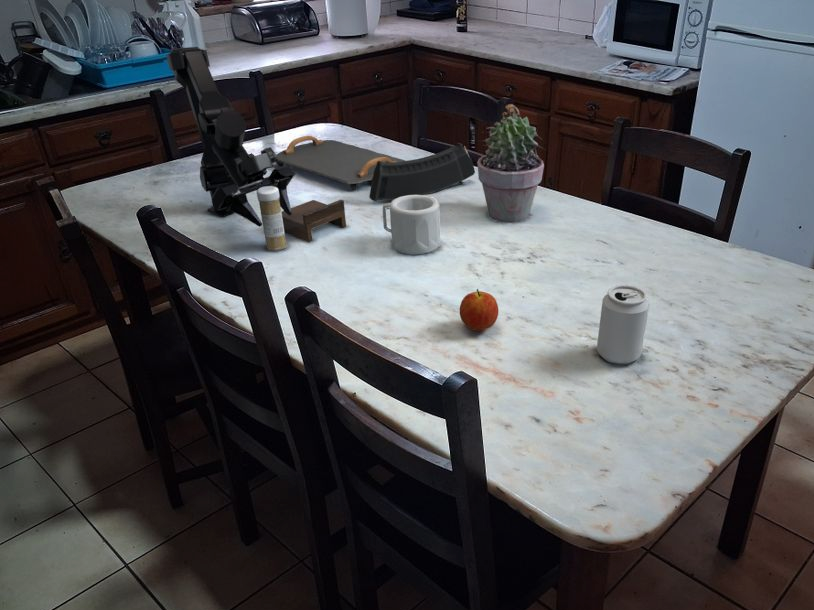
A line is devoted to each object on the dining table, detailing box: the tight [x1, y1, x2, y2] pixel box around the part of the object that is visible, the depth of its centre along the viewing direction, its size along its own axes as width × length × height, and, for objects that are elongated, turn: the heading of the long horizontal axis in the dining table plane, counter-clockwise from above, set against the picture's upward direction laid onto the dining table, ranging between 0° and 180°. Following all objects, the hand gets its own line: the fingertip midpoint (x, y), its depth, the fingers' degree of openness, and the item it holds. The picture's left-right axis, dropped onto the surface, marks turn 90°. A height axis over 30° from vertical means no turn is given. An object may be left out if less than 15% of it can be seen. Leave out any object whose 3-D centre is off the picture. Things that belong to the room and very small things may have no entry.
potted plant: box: [477, 103, 548, 224], centre depth 164 cm, size 18×20×25 cm
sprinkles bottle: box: [256, 186, 288, 252], centre depth 152 cm, size 5×5×13 cm
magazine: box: [368, 142, 476, 202], centre depth 181 cm, size 17×3×30 cm
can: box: [596, 284, 650, 365], centre depth 116 cm, size 8×8×12 cm
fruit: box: [459, 288, 499, 332], centre depth 125 cm, size 7×7×8 cm
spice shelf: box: [281, 199, 347, 243], centre depth 163 cm, size 11×12×6 cm
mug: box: [382, 195, 441, 255], centre depth 154 cm, size 14×11×10 cm
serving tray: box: [275, 135, 406, 192], centre depth 198 cm, size 39×23×6 cm, turn 51°
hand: (276, 220), depth 151 cm, fingers open, 8 cm apart
